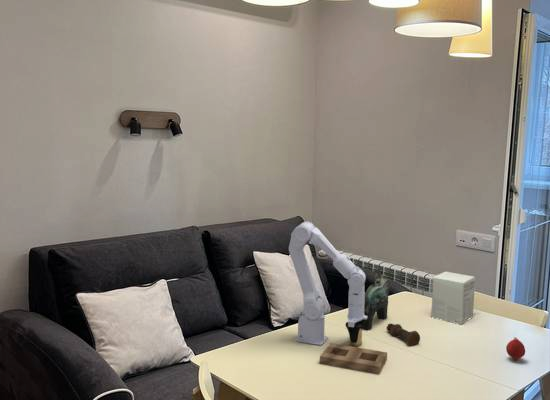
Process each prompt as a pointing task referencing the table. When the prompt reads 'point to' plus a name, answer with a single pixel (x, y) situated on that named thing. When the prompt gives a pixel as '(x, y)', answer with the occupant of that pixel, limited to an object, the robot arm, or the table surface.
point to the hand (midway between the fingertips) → (355, 339)
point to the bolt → (404, 334)
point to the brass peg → (359, 341)
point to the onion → (515, 349)
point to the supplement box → (453, 297)
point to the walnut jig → (354, 358)
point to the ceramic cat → (376, 301)
